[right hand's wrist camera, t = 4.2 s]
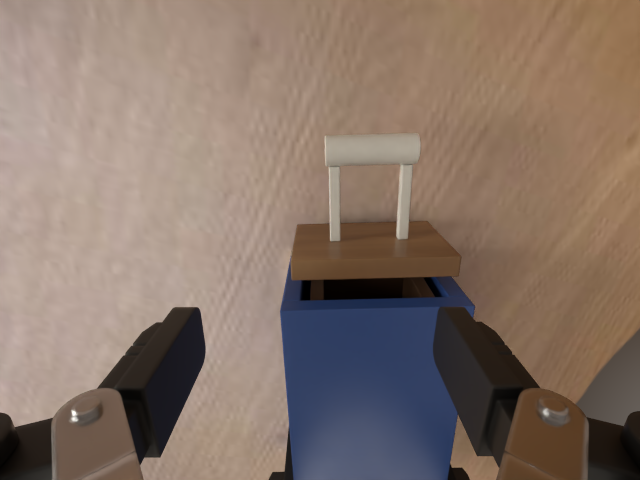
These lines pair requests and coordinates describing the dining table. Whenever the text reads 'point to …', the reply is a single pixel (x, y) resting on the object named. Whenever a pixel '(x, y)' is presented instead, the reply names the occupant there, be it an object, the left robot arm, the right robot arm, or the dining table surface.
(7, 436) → the right robot arm
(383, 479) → the cabinet
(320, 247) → the drawer
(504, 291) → the dining table surface
